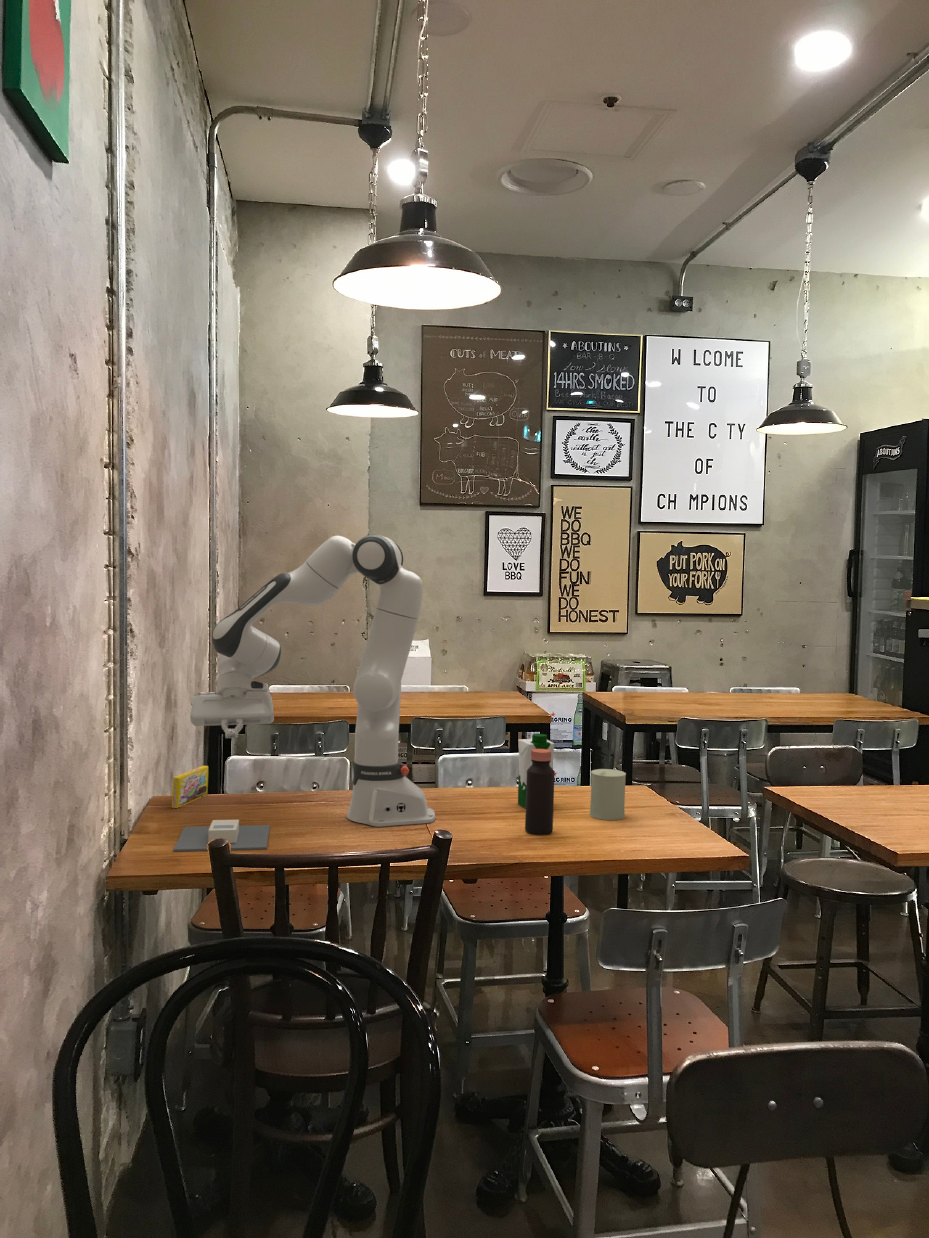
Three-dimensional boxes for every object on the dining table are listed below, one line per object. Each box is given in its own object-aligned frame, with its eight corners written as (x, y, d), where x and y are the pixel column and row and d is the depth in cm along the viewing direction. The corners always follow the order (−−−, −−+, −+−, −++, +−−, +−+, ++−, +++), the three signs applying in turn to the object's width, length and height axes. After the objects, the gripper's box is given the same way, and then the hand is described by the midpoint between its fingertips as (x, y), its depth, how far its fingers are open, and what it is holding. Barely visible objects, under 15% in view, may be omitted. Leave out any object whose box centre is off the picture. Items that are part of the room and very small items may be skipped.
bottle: (524, 827, 223) (526, 747, 222) (551, 828, 223) (554, 748, 222) (525, 834, 217) (527, 752, 216) (553, 835, 216) (556, 753, 215)
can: (582, 815, 236) (584, 770, 236) (602, 809, 243) (603, 765, 242) (612, 822, 230) (613, 776, 229) (631, 816, 237) (633, 771, 236)
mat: (269, 827, 217) (269, 825, 217) (266, 849, 200) (266, 847, 200) (184, 828, 214) (184, 826, 214) (173, 851, 196) (173, 849, 196)
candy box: (178, 809, 232) (178, 777, 232) (170, 808, 232) (171, 777, 232) (208, 795, 248) (208, 765, 248) (201, 794, 248) (201, 764, 248)
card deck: (239, 819, 211) (236, 829, 202) (238, 832, 211) (235, 843, 202) (212, 819, 210) (208, 830, 201) (212, 832, 210) (208, 843, 201)
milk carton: (525, 811, 239) (527, 737, 238) (513, 803, 247) (515, 731, 246) (555, 809, 241) (558, 736, 241) (542, 801, 250) (544, 730, 249)
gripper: (190, 685, 224) (185, 730, 215) (274, 683, 228) (272, 727, 218) (193, 700, 229) (188, 745, 219) (274, 698, 232) (273, 742, 223)
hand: (231, 736), depth 219 cm, fingers closed
